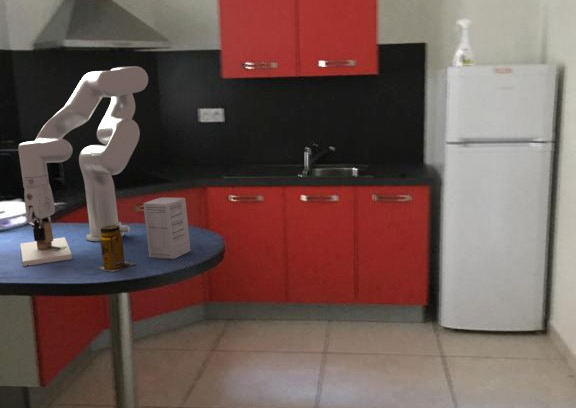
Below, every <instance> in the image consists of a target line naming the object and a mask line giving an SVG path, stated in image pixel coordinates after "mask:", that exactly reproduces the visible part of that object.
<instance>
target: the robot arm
mask: <svg viewBox="0 0 576 408" xmlns="http://www.w3.org/2000/svg"><path fill="white" fill-rule="evenodd" d="M146 71H147V70H145V69H144V68H142V67H141V66H136V65H135V66H134V65H133V66H118V67H113V68H111V69H110V70H98V71H97V70H95V71H90V72H87V73H86V74H84V75H83V76H82V78H81V80H79V82H78V84H77V86H76V88H75V89H74V90H73V93H72V94H71V96H70V97H69V99H68V100H67V102H66V103H65V105H64V106H63V107H62V108H61V109H60V110H59V111H57V112H56V113H55V114H54V115H53V116H52V117H51V118H50V119H48V121H47V122H46V123H45V124H44V125H43V126H42V128H41V130H39V132H38V134H37V136H36V138H35V139H34V140H31V141H25V142H21V143H19V144H18V148H17V150H18V156H19V164H20V170H21V177H22V183H23V184H22V186H23V188H24V207H25V208H24V209H25V214H26V217H27V223H28V224H30V226H31V229H32V232H33V231H34V233H33V240H34V239H35V241H43V240H45V235H44V228H42V222H51V223H52V220H51V219H52V215H53V214H55V212H56V206H55V199H54V194H53V191H52V187H51V185H50V181H49V172H48V165H47V164H49V163H63V162H66V161H68V160H69V159H71V156H72V154H73V146H72V145H71V143H70V142H69V141H68V140H67V139H64V136H66V135H67V134H68V133H70V132H71V131H72V130H74V129H76V128H79V127H80V126H83V125H85V123H87V122H88V121H89V120H90V119H91V117H92V115H93V114H94V112H95V110H96V109H97V107H98V105H99V104H100V102H101V100H102V99H103V98H110V99H111V100H110V104H109V106H108V108H107V109H106V112H105V115H104V116H103V117H102V119H101V122H100V123H99V125H98V128H97V130H96V138H97V140H98V142H100V143H101V144H90V145H88V146H86V147H84V148H82V150H81V151H80V153H79V155H78V163H79V164H78V165H79V168H80V171H81V174H82V178H83V182H84V190H85V199H86V207H87V215H88V223H89V233H87V234H86V236H85V237H86V240H87V241H90V242H100V238H101V228H102V227H105V226H112V225H115V226H119V228H120V229H119V230H120V235H121V236H122V237H124V236H125V233H130V232H131V227H130V226H129V225H122V221H119V217H118V209H117V197H116V191H115V190H116V189H115V188H116V187H115V183H114V179H113V177H112V176H115V175H118V174H120V173H122V172H123V170H125V168H126V166H127V165H128V164H129V161H130V158H131V156H132V155H133V152H134V151H135V149H136V147H137V145H138V143H139V140H140V128H139V125H138V123H137V122H136V121H135V120H134V119H133V117H134V114H135V112H136V101H135V98H134V95H133V94H135V93H139V92H142V91H144V90H145V89H146V87H147V85H148V83H149V76H148V73H147V72H146ZM37 221H38V222H37ZM35 241H34V242H35Z"/></svg>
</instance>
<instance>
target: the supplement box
mask: <svg viewBox="0 0 576 408" xmlns="http://www.w3.org/2000/svg"><path fill="white" fill-rule="evenodd" d="M142 204H143V212H144V221H145V231H146V241H147V250H148V257H149V258H154V259H155V258H157V259H168V260H169V259H170V260H175V259H177V258H180V257H181V256H183V255H185V254H187V253H189V252H191V242H190V241H191V240H190V232H189V231H190V229H189V221H188V213H187V202H186V198H185V197H163V196H162V197H159V198H155V199H151V200H148V201H146V202H144V203H142Z"/></svg>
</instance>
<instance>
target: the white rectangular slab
mask: <svg viewBox="0 0 576 408" xmlns="http://www.w3.org/2000/svg"><path fill="white" fill-rule="evenodd" d="M52 246H55V247H60V249H59V250H55V249H44V250H39V249H37V241H29V242H21V243H20V252H21V260H22V266H23V267H28V266H27V265H29V266H33V265H42V264H47V263H53V262H54V263H55V262H60V261H68V260H72V259H73V254H72V251H71V250H70V247H69V244H68V242H67V240H66V237H59V238H58V237H57V238H53V241H52Z"/></svg>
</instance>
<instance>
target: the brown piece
mask: <svg viewBox="0 0 576 408" xmlns="http://www.w3.org/2000/svg"><path fill="white" fill-rule="evenodd" d="M36 221H37V222H38V220H36ZM42 228H44V235H45V240H43V241H37V249H39V250H44V249H55V250H59V249H60V247H55V246H52V241H53V239H54V237H53V236H54V235H53V227H52V221H51V222H42ZM32 232H33V234H34V231H33V230H32ZM33 242H35V239H34V238H33Z"/></svg>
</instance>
